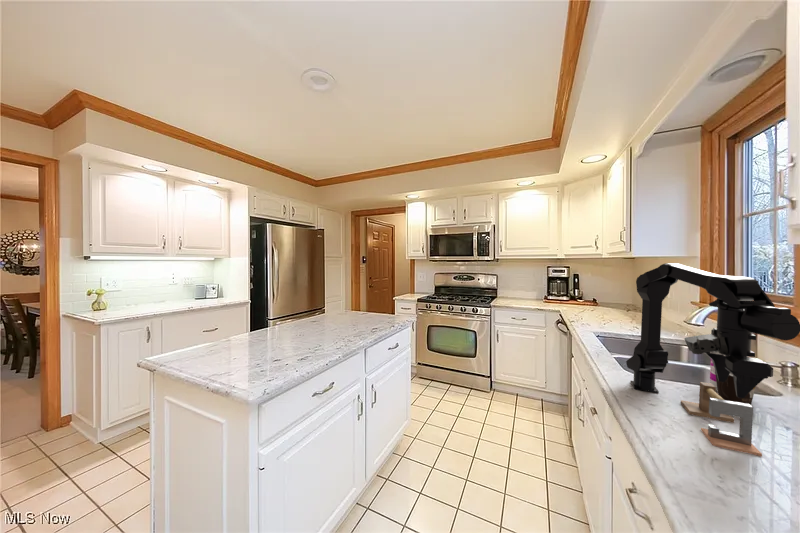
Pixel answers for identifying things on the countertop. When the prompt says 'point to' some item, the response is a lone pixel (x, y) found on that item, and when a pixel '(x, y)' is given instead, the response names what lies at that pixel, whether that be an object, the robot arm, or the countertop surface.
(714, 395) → the stand
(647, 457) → the countertop surface
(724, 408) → the link
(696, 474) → the countertop surface
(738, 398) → the coffee mug
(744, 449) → the mat
